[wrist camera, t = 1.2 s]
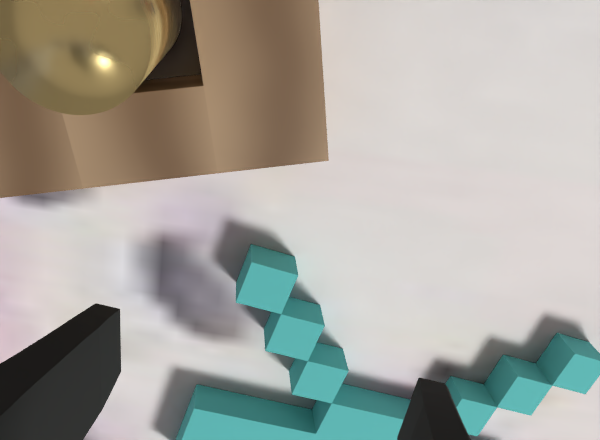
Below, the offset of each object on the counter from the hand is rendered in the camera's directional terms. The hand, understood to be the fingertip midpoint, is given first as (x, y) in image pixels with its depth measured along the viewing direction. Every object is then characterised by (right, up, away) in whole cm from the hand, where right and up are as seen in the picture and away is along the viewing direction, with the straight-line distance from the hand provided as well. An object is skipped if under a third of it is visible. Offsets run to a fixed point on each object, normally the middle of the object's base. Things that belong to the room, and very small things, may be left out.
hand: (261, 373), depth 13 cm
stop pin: (-6, +12, +8) cm, 15 cm away
